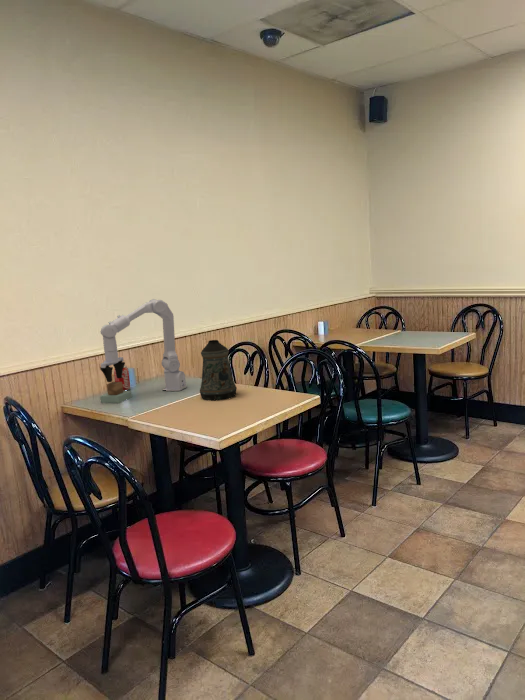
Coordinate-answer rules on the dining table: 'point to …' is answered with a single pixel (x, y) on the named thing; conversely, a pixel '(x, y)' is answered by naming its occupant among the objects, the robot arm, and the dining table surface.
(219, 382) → the beer stein
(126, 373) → the soda can
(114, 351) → the robot arm
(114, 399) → the sage green base
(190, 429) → the dining table surface
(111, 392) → the walnut block
